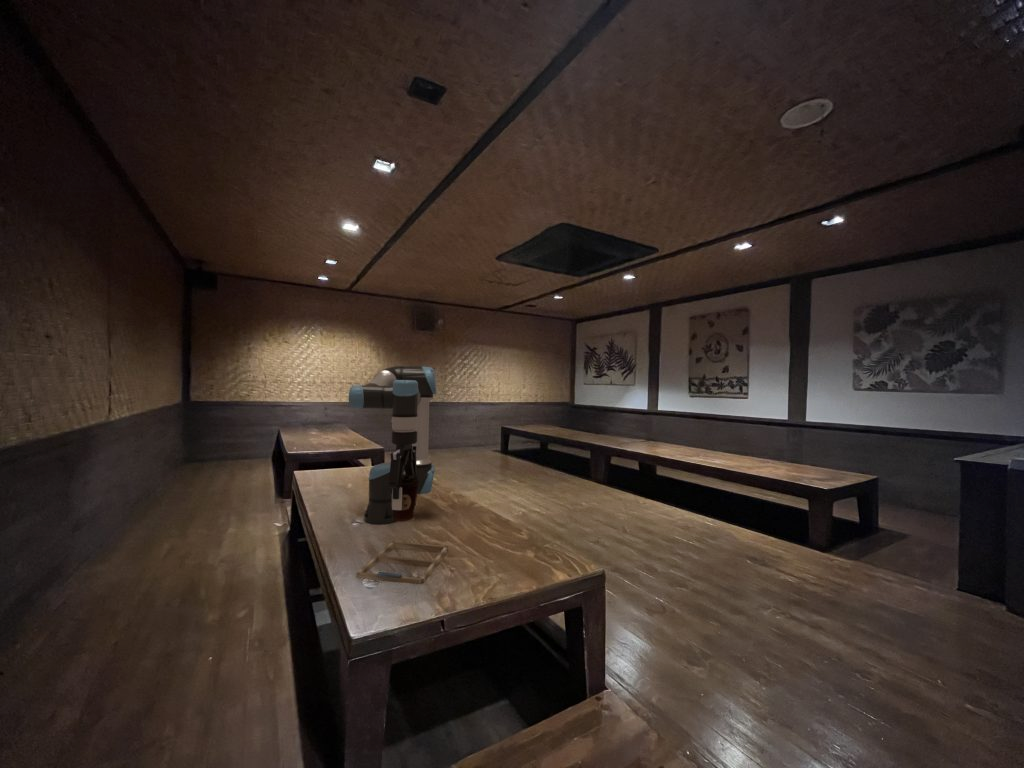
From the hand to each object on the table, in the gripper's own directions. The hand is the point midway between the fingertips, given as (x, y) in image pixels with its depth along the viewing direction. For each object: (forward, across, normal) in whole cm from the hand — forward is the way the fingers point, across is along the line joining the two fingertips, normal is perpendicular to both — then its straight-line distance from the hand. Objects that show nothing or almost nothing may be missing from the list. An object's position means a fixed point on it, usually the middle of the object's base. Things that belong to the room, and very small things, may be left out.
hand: (403, 504), depth 120 cm
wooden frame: (+20, -3, 0) cm, 20 cm away
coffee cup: (+4, 0, 0) cm, 5 cm away
